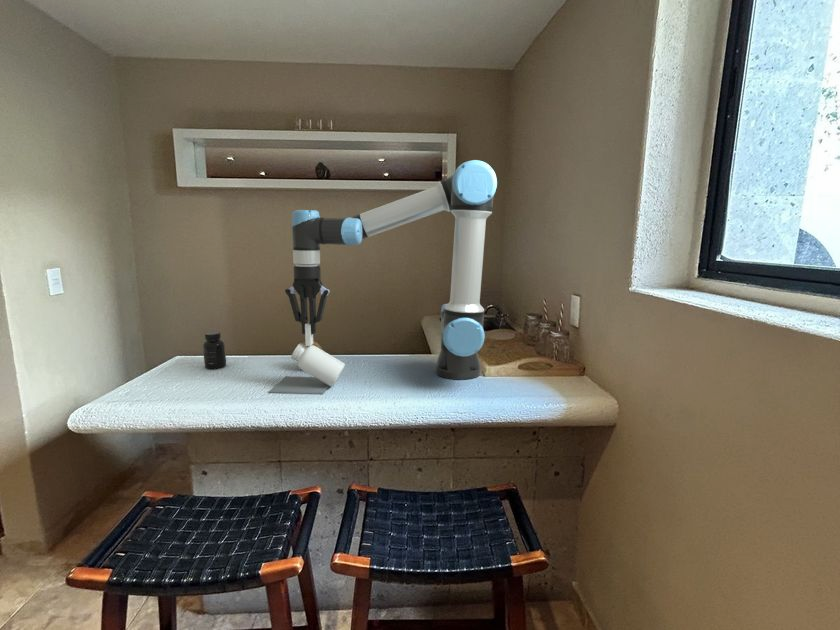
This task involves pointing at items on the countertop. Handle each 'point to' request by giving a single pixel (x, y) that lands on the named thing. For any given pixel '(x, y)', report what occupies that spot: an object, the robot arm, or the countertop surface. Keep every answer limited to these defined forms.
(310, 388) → the mat
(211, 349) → the supplement bottle
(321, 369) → the pill bottle
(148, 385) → the countertop surface
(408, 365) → the countertop surface
